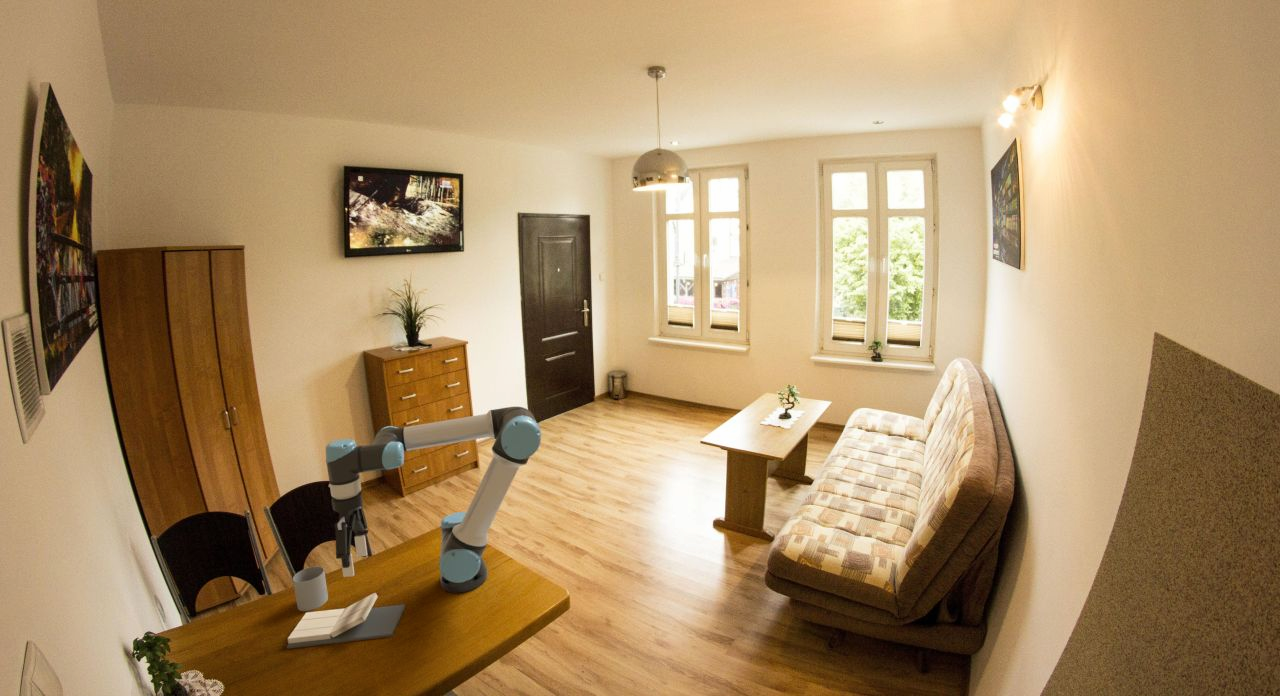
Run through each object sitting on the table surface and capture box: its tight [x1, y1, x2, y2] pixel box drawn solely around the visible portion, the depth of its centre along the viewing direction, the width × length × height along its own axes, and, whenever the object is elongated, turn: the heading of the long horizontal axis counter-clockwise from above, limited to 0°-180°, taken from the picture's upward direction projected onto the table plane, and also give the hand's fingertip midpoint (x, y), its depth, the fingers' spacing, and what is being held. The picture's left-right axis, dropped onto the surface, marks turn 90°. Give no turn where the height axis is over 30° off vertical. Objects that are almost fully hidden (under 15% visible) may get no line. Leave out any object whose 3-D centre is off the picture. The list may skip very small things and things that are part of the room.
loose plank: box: [330, 592, 379, 637], centre depth 155 cm, size 10×11×2 cm
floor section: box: [286, 604, 406, 650], centre depth 155 cm, size 28×13×2 cm, turn 98°
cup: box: [292, 565, 329, 612], centre depth 166 cm, size 8×8×10 cm
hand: (355, 565), depth 152 cm, fingers open, 9 cm apart
